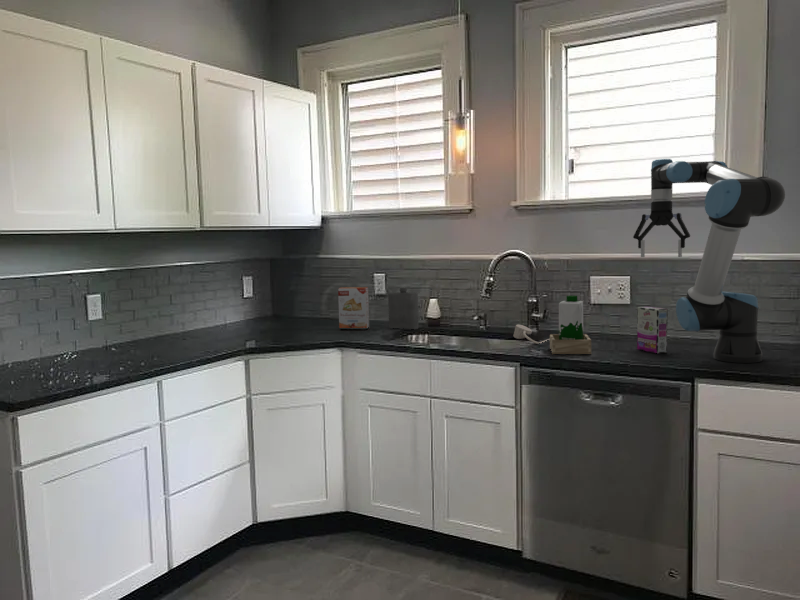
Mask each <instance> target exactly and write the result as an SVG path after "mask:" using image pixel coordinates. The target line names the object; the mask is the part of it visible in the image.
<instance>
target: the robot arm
mask: <svg viewBox="0 0 800 600" xmlns="http://www.w3.org/2000/svg"><path fill="white" fill-rule="evenodd" d="M650 168H651V169H650V178H651V179H650V181H651V182H650V187H651V188H650V200H651V203H650V214H646V213H645V214H642V215H641V221H640V222H639V224H638V226H637V228H636V230H635V232H634V234H633V236H632V238H633V239H635V240H637V243H638V244H637V247H638V249H640V258H645V247H646V246H645V245H646V244H645V243H646V241H645V240H646V239H645V240H644V238H645V237H646V236H647V235H648V233H649V232H650V231H651V230H652V229H653V228H654V227H655V226H669V227H670V229H671V230H672V231H673V232H674V233H675V234H676V235H677V236H678V237H679V239H678V240H677V241H678V245H677V246H678V248H677V249H678V250H677V251H678V252H677V254H678V255H677V257H678V258H682V257H683V249H685V247H686V239H688V238H690V237H691V234H690V232H689V229H687V226H686V224H685V222H684V221H683V217H682V213H681V212H677V213H673V201H672V200H673V184H694V183H704V184H705V183H706V184H708V185H711V186H710V187H709V188H708V190H707V192H706V194H705V198H704V204H705V205H704V211H705V213H706V215H708V220H709V222H710V223H711V226H710V230H709V233H708V236H707V241H706V244H705V247H704V250H703V254H702V258H701V261H700V264H699V265H700V266H699V267H698V268H699V269H698V272H697V276H696V279H695V283H694V286H692V287H690V288H688V290H687V293H686V296H682V297H679V298H678V299H677V301H676V304H675V312H676V314H675V315H676V317H677V321H678V323H679V325H680V326H681V328H682V329H683V330H685V331H688V332H702V331H707V332H708V331H719V336H718V339H717V341H716V345H715V348H714V349H713V359H715V360H717V361H721V362H727V363H739V364H745V363H746V364H750V363H751V364H752V363H753V364H754V363H759V362H762V361H763V352H762V349H761V346H760V343H759V339H758V318H759V317H758V316H759V314H758V313H759V302H758V297H757V296H756V295H754V294H749V293H742V292H733V291H724V290H723V288H724V285H725V283H726V279H727V276H728V272H729V270H730V266H731V264H732V260H733V257H734V253H735V250H736V247H737V244H738V241H739V238H740V237H739V236H740V234H741V231H742V230H743V229H745V228H747V227H748V226H749V223H750V219H751V218H752V217H765V216H769V215H772V214H773V213H775V212H777V211H778V210H779V209H780V208H781V206H782V205H783V204H784V202H785V198H786V192H785V188H784V186H783V185H782V183H781V182H780V181H778V180H776V179H773V178H770V177H768V176H763V175H762V176H758V177H757V176H754V175H751V174H748V173H745V172H743V171H741V170H740V171H739V170H737V169H735V168H734V169H733V168H731V167H729V166H728V165H727V164H726V163H725V161H718V160H713V161H712V160H711V161H686V160H684V161H683V160H677V161H676V160H675V161H674V162H673V160H672V158H659V159H654V160H652V161H651V167H650ZM673 218H674V219H675V220H677V223H678V224H679V226H680V228H681V231H680V229H679V228H678V227H677V225H675V224H674V223H673V221H672V220H673ZM649 219H650V221H651V222H650V223H649V224H648V225H647V227H646V228H645V230H643V229H644V226H645V224H646V222H647V221H648V220H649ZM642 230H643V231H642ZM641 232H642V233H641Z"/></svg>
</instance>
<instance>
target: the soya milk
mask: <svg viewBox="0 0 800 600" xmlns="http://www.w3.org/2000/svg"><path fill="white" fill-rule="evenodd" d="M558 334H559V340H583V334H584V301H583V300H578V295H566V300H562V301H560V302H558Z"/></svg>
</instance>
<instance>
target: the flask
mask: <svg viewBox="0 0 800 600" xmlns="http://www.w3.org/2000/svg"><path fill="white" fill-rule="evenodd" d="M418 294H419V293H418V292H413V291H412V292H409V291H408V288H407V287H400V288H399V291H398V292H397V291H395V292H388V293H387V299H388V328H389V327H390V328H404V329H403V330H411V329H414V330H418V329H419V295H418ZM390 328H389V329H390Z"/></svg>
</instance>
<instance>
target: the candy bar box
mask: <svg viewBox="0 0 800 600" xmlns="http://www.w3.org/2000/svg"><path fill="white" fill-rule="evenodd" d="M668 315H669V313H668V308H662V307H654V306H638V307H637V316H636V319H637V320H636V321H637V322H636V323H637V325H636V326H637V328H636V329H637V330H636V333H637V334H636V340H637V341H636V342H637V343H636V344H637V345H636V349H637V350H638V351H642V350H643V351H644V352H647V353H653V354H656V353H657V355H658V354H666V353H668Z"/></svg>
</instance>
